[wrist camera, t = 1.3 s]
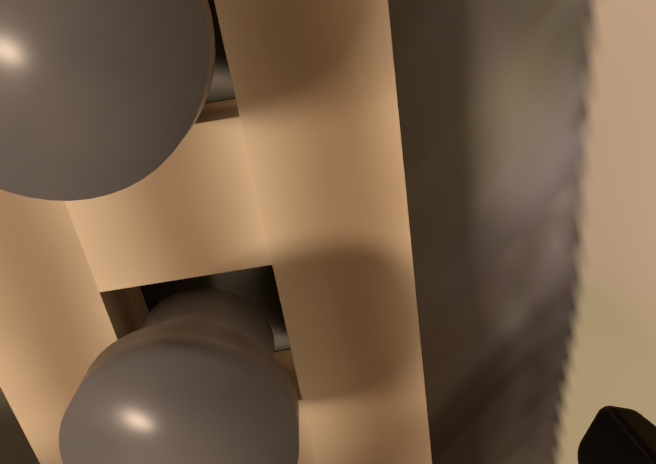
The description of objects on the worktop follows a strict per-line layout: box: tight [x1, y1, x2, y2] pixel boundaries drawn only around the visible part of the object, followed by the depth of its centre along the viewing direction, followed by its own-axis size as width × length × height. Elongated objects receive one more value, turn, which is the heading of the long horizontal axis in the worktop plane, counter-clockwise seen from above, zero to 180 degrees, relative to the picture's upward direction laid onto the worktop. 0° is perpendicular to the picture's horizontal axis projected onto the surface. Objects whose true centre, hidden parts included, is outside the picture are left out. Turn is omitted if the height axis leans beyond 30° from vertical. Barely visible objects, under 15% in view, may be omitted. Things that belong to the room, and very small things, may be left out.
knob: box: [0, 0, 215, 201], centre depth 12 cm, size 6×6×4 cm
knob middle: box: [59, 288, 299, 464], centre depth 16 cm, size 6×6×4 cm
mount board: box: [0, 0, 432, 464], centre depth 19 cm, size 14×32×3 cm, turn 9°
